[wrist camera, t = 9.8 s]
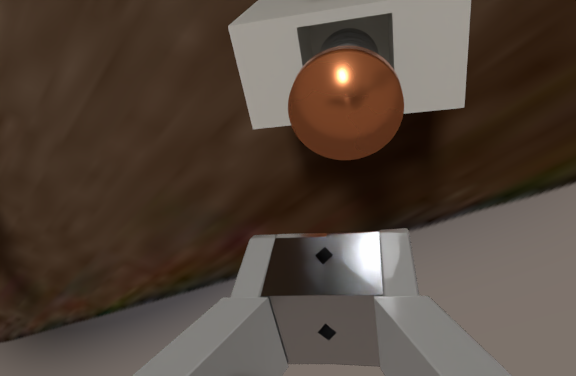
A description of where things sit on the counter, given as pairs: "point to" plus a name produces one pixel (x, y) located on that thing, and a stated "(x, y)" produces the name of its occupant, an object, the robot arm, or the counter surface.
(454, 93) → the housing
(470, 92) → the counter surface
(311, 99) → the plunger
